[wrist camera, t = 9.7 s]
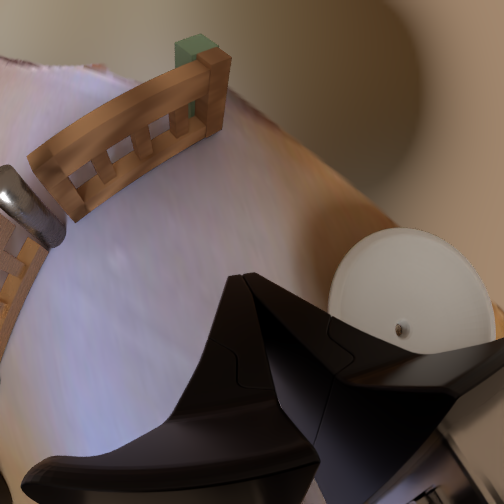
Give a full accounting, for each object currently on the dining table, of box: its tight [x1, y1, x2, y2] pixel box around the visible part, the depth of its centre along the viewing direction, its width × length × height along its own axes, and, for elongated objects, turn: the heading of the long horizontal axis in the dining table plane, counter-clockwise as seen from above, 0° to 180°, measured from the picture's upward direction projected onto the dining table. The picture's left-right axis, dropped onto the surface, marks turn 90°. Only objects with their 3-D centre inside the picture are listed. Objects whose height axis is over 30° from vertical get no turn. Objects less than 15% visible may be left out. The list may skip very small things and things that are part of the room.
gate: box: [27, 47, 232, 223], centre depth 20 cm, size 15×2×8 cm, turn 131°
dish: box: [328, 228, 496, 354], centre depth 22 cm, size 18×14×5 cm
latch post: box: [175, 34, 219, 119], centre depth 23 cm, size 2×2×9 cm
